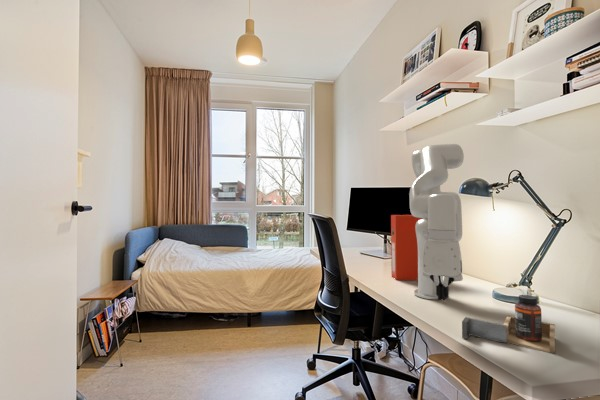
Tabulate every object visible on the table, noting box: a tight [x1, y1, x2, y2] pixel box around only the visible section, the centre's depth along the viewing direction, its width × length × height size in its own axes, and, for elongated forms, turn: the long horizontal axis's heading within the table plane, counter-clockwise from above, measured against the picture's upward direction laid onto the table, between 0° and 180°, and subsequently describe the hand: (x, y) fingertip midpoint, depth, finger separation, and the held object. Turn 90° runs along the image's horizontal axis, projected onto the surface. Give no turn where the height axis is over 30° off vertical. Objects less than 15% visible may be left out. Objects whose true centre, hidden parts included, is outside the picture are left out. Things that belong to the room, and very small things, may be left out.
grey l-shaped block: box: [461, 316, 508, 344], centre depth 85 cm, size 4×10×4 cm, turn 51°
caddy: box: [502, 315, 556, 354], centre depth 86 cm, size 11×11×4 cm
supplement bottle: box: [514, 294, 543, 342], centre depth 86 cm, size 6×6×11 cm
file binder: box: [390, 214, 424, 281], centre depth 158 cm, size 8×17×32 cm, turn 90°
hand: (442, 299), depth 91 cm, fingers closed
